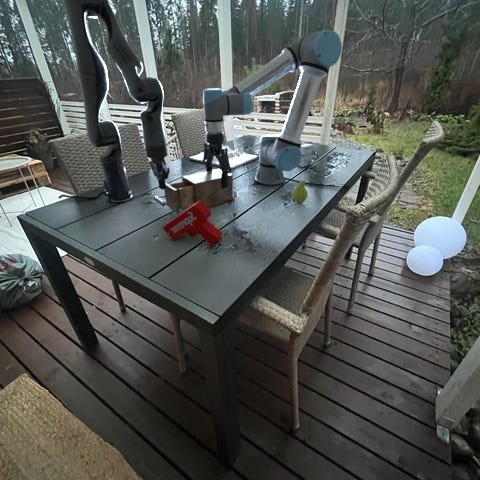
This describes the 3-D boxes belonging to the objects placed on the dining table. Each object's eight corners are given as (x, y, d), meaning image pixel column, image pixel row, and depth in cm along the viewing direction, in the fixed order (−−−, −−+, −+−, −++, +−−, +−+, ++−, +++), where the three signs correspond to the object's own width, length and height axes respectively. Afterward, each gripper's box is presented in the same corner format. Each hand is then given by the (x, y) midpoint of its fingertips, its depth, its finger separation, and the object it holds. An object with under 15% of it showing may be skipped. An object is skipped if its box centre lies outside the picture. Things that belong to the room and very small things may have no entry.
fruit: (288, 200, 123) (290, 174, 116) (302, 197, 125) (305, 172, 119) (296, 206, 118) (299, 179, 111) (310, 203, 120) (314, 177, 114)
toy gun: (229, 234, 92) (201, 198, 88) (224, 240, 88) (196, 203, 84) (194, 253, 102) (168, 222, 98) (189, 259, 98) (162, 227, 94)
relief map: (231, 168, 161) (231, 160, 158) (189, 159, 179) (189, 151, 176) (257, 158, 179) (257, 150, 176) (217, 150, 197) (216, 142, 194)
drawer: (164, 217, 106) (161, 193, 101) (154, 208, 112) (150, 186, 107) (213, 202, 118) (212, 181, 113) (201, 196, 125) (200, 175, 120)
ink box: (304, 162, 171) (306, 143, 164) (310, 164, 168) (313, 144, 161) (296, 165, 166) (298, 145, 159) (302, 167, 163) (305, 147, 156)
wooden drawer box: (197, 210, 114) (195, 183, 108) (184, 202, 121) (181, 176, 115) (232, 199, 124) (232, 174, 118) (219, 192, 131) (218, 168, 125)
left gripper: (137, 140, 99) (146, 185, 108) (152, 148, 90) (161, 196, 99) (157, 137, 103) (164, 181, 112) (173, 144, 94) (179, 191, 103)
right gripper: (191, 129, 115) (196, 178, 127) (224, 138, 100) (225, 194, 112) (206, 127, 119) (209, 175, 131) (239, 135, 104) (240, 189, 116)
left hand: (162, 188), depth 106 cm, fingers closed
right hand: (217, 184), depth 122 cm, fingers closed on wooden drawer box, 11 cm apart
